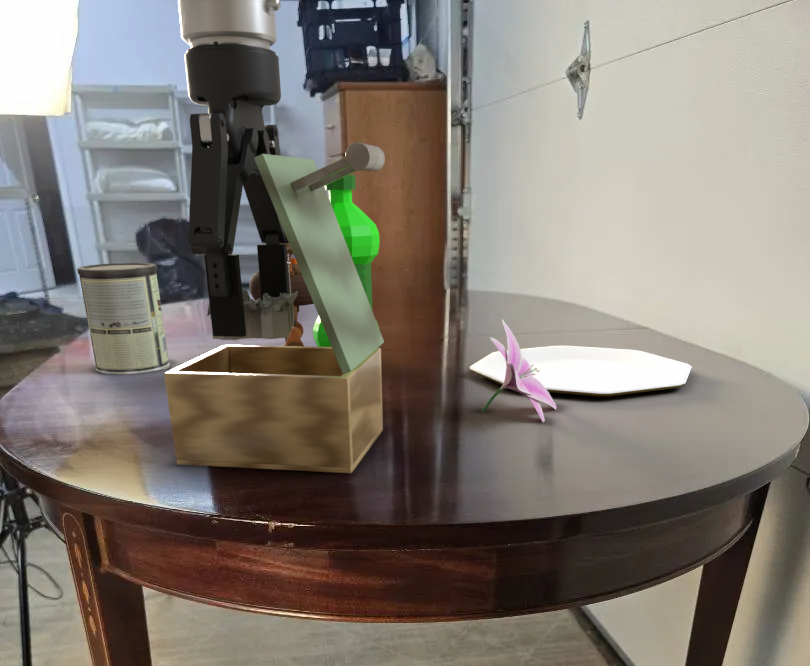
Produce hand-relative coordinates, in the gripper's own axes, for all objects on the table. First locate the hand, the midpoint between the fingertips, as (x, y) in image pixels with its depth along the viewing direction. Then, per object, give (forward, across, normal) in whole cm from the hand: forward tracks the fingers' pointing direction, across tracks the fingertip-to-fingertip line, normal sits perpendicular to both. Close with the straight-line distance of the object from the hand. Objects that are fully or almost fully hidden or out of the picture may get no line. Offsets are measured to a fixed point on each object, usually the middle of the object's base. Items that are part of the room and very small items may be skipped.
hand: (255, 324), depth 71 cm
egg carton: (+1, 0, 0) cm, 1 cm away
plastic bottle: (+12, +44, +3) cm, 46 cm away
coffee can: (+12, +33, +32) cm, 48 cm away
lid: (-5, 0, -7) cm, 9 cm away
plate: (+12, +36, -31) cm, 49 cm away
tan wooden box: (+12, 0, -2) cm, 12 cm away
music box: (+12, +27, +6) cm, 30 cm away
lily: (+12, +15, -24) cm, 31 cm away
